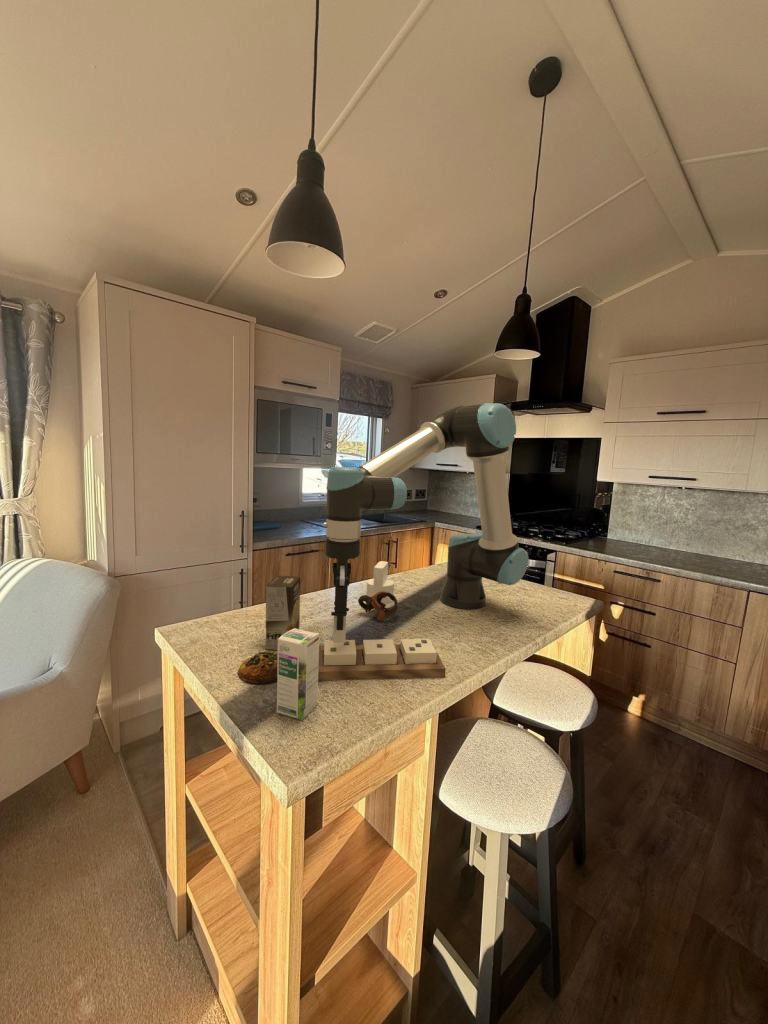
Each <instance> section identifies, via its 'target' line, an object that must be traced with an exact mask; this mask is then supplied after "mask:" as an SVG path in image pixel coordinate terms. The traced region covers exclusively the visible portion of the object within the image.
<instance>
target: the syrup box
mask: <svg viewBox="0 0 768 1024" xmlns="http://www.w3.org/2000/svg"><path fill="white" fill-rule="evenodd" d="M319 646H320V633H319V632H312V631H307V630H303V629H300V628H299V629H296V628H294V629H292V630H290V631H288V632H286V633H285V634H283V635H282V636H281V637H280V638H278V650H277V653H278V658H277V659H278V671H277V681H276V683H277V686H276V687H277V688H276V689H277V690H276V691H277V692H276V693H277V694H276V696H277V697H276V713H277V714H282V715H284V716H288V717H292V718H294V719H297V720H300V721H303V720H304V719H305V718H306V717H307V716H308V715H309V714H311V712H312V711H313V710H314V708H315V707H316V706H317V705H318V702H319V701H318V698H319V694H318V693H319V681H318V667H319Z"/></svg>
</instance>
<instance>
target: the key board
mask: <svg viewBox="0 0 768 1024" xmlns="http://www.w3.org/2000/svg"><path fill="white" fill-rule="evenodd" d="M394 645H395V649H396V652H397V664H374V665H365V662H364V654H363V644H355V647H356V665H328V666H324V645H319V667H318V682H319V681H348V680H349V681H351V680H357V681H358V680H390V679H391V680H392V679H426V678H427V679H429V678H446V667H445V665H444V663H443V661H442V659H441V657H440V655H439V653H438V651H437V649H436V647H435V646H434V644H433V646H434V648H435V650H436V652H437V657H436V663H420V664H405V661H404V658H403V655H402V652H401V649H400V648H401V643H400V644H394Z"/></svg>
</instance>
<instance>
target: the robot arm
mask: <svg viewBox="0 0 768 1024" xmlns="http://www.w3.org/2000/svg"><path fill="white" fill-rule="evenodd" d="M516 435H517V423H516V418H515V416H514V413H513V412H512V411H511V409H510V408H508V407H507V406H506V405H504V404H502V403H500V402H499V403H496V402H495V403H492V402H488V403H487V402H486V403H477V404H476V403H475V404H468V405H457V406H453V407H451V408H449V409H446V410H444V411H443V412H440V413H439V414H437V415H435V416H434V417H431V418H430V419H428V420H427V421H425V422H424V423H422V424H421V425H420V427H419V430H417V431H415V432H414V433H412V434H410V435H408V436H407V437H405V438H403V439H402V440H400V441H399V442H397V443H395V444H394V445H392V446H390V447H389V448H387V449H386V450H384V451H382V452H381V453H379V454H377V455H376V456H374V457H372V458H371V459H369V460H367V461H365V462H364V463H362V464H361V465H359V466H358V467H348V466H332V467H330V468H329V470H328V473H327V474H328V475H327V481H326V482H327V483H326V512H325V513H326V514H325V515H326V520H325V521H326V522H324V523H323V524H322V527H324V528H326V529H325V536H326V537H327V538H326V539H325V543H324V554H325V556H326V557H328V558H330V559H335V560H336V562H332V574H333V586H334V602H333V605H334V607H333V610H334V611H331V612H330V613H331V615H330V616H333V626H332V627H333V631H332V633H333V635H332V640H333V643H345V640H346V633H347V629H346V627H347V615H348V612H349V611H350V609H349V607H348V606H347V605H348V591H349V590H348V588H349V586H350V582H351V581H350V578H351V577H350V576H351V574H352V566H351V562H348V561H349V560H350V559H351V560H352V559H356V558H358V557H359V556H360V551H361V549H360V548H361V541H360V540H359V539H360V537H361V532H362V512H363V511H383V510H385V511H386V510H388V511H391V510H396V509H401V508H402V507H403V506H404V505H405V503H406V501H407V497H408V488H407V485H406V483H405V482H404V481H403V479H401V478H400V477H397V476H398V475H400V474H402V473H403V472H405V471H406V470H408V469H410V468H411V467H413V466H414V465H416V464H417V463H419V462H420V461H422V460H423V459H425V458H426V457H428V456H430V455H431V454H433V453H434V454H439V453H441V452H442V451H444V450H446V449H449V448H457V447H458V448H459V447H460V448H464V447H465V453H466V458H468V459H469V460H470V461H472V464H473V473H474V480H475V488H476V494H477V502H478V503H477V504H478V508H479V509H478V510H479V516H480V517H479V518H480V526H481V533H458V534H457V533H456V534H453V535H451V536H450V538H449V540H448V546H447V564H446V571H447V572H446V579H445V581H444V583H443V585H442V588H441V590H440V596H439V597H440V599H439V600H440V602H441V603H443V604H445V605H446V606H449V607H452V608H457V609H464V610H474V609H479V608H483V607H485V606H486V604H487V603H486V601H487V596H486V592H485V591H486V590H485V589H484V588H485V587H484V584H483V579H487V580H489V581H492V582H496V583H498V584H501V585H502V584H503V585H507V586H514V585H516V584H517V583H519V582H520V581H521V580H522V578H523V577H524V575H525V573H527V569H528V565H529V554H528V552H527V550H526V549H524V548H522V547H519V539H518V537H517V536H516V535H515V534H514V533H513V528H512V521H511V520H512V519H511V512H510V510H511V509H510V501H509V493H508V492H509V491H508V484H507V473H506V463H505V456H506V454H508V452H509V451H510V447H509V446H511V445H512V444H513V442H514V441H515V438H516V437H515V436H516Z"/></svg>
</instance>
